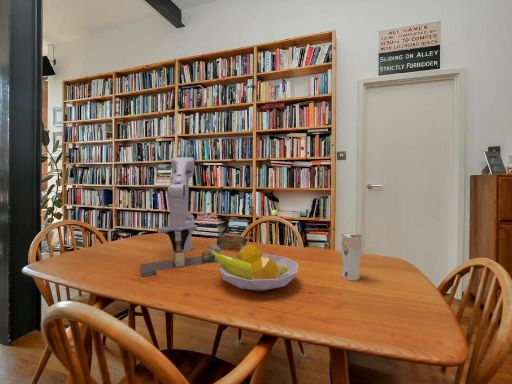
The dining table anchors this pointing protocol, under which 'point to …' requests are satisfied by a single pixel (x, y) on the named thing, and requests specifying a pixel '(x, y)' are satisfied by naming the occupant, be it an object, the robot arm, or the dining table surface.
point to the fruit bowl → (256, 269)
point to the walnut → (206, 255)
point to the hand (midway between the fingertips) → (178, 249)
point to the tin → (231, 242)
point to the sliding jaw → (178, 255)
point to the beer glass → (351, 255)
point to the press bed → (151, 268)
